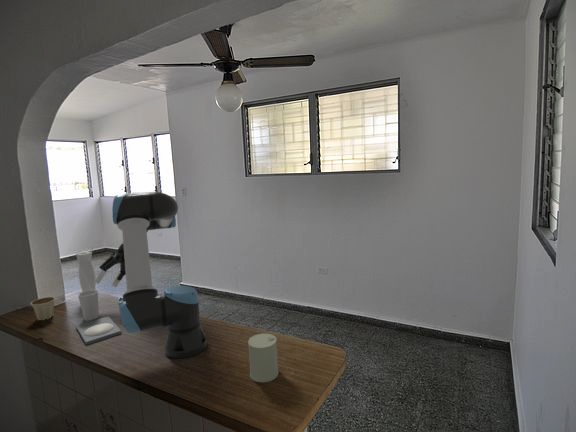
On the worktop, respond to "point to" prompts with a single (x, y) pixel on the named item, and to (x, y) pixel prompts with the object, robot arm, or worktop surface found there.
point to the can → (263, 357)
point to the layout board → (98, 330)
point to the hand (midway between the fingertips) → (104, 284)
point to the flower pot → (43, 307)
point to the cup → (89, 304)
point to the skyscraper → (86, 270)
